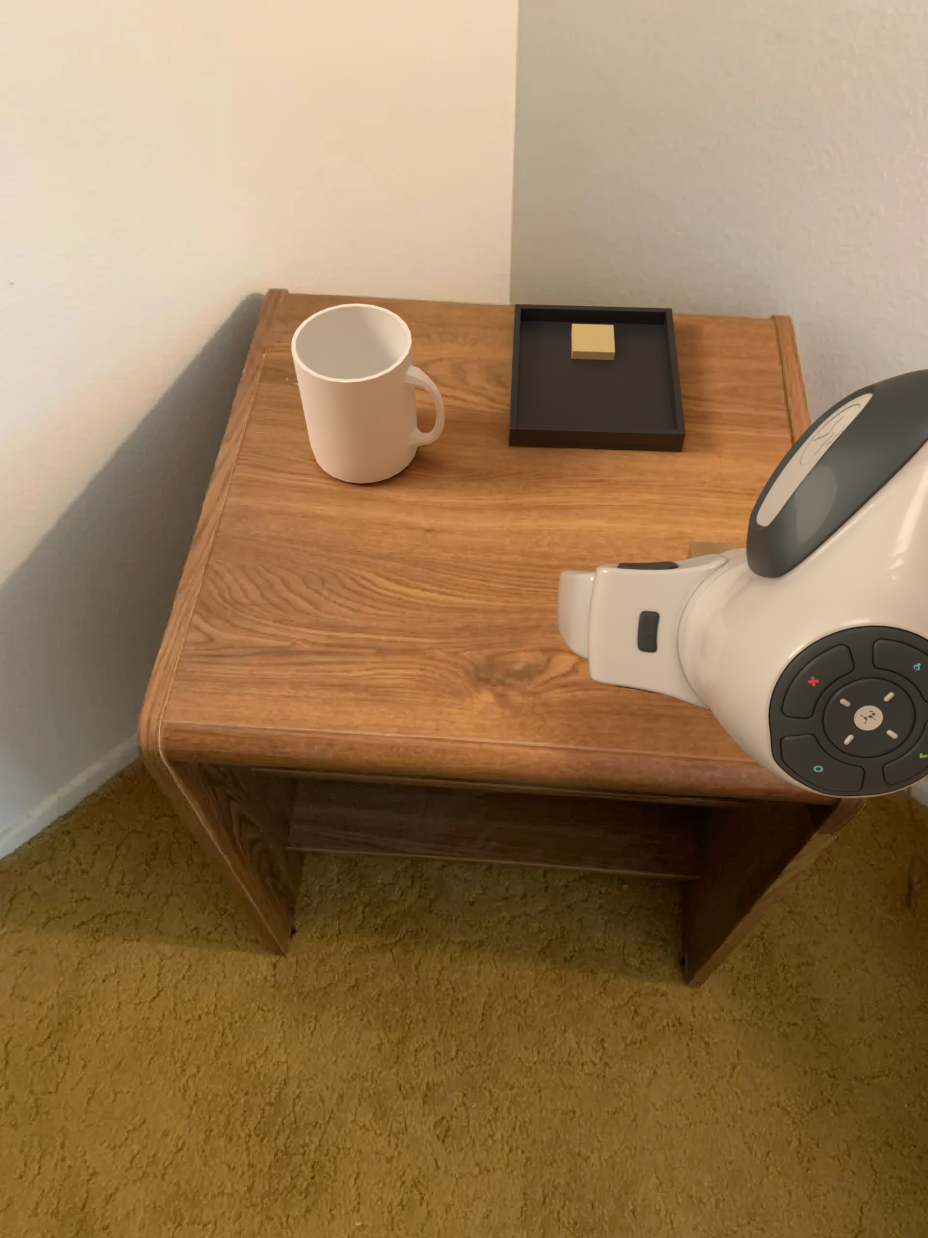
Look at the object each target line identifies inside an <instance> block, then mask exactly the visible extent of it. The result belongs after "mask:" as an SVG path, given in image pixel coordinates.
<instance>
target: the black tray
mask: <svg viewBox="0 0 928 1238" xmlns="http://www.w3.org/2000/svg"><path fill="white" fill-rule="evenodd" d="M513 320H514V321H513V338H512V339H513V341H512V342H513V343H512V362H511V364H512V365H511V387H510V389H511V390H510V409H509V410H510V411H509V432H508V433H509V435H508V446H511V447H534V448H535V447H538V448H569V449H594V450H595V449H596V450H598V449H599V450H624V451H625V450H627V451H654V452H656V451H657V452H682V450H683V446H684V442H685V438H686V435H687V434H686V425H685V415H684V408H683V397H682V389H681V379H680V369H679V362H678V353H677V351H678V350H677V343H676V341H677V340H676V334H675V324H674V316H673V309H672V307H671V308H670V307H641V306H640V307H638V306H637V307H636V306H603V305H600V306H598V305H566V304H565V305H564V304H533V303H532V304H529V303H515V304H514V317H513ZM572 324H597V325H614V340H615V356H614V360H588V359H572V348H571V330H572Z"/></svg>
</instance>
